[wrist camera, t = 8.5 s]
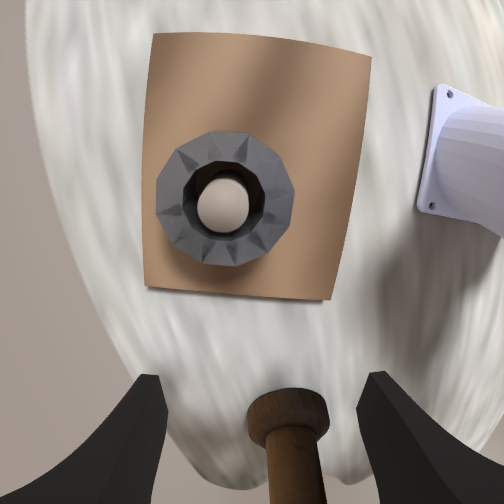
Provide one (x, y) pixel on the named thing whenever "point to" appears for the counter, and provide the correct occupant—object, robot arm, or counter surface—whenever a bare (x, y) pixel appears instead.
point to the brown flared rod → (291, 443)
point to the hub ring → (186, 197)
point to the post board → (269, 132)
